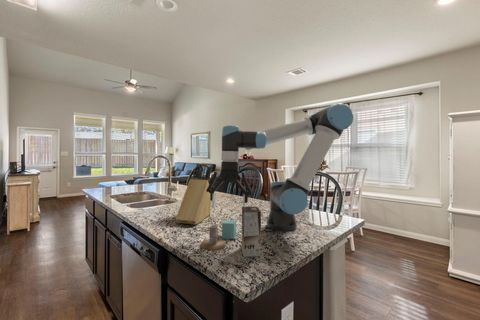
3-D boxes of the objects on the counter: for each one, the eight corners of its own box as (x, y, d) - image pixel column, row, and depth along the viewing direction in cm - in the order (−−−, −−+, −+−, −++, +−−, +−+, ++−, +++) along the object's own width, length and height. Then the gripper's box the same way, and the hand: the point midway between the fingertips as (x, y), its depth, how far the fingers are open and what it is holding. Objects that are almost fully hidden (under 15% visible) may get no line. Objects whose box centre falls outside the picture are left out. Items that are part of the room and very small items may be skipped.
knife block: (215, 210, 150) (215, 163, 150) (195, 226, 115) (196, 165, 115) (198, 210, 152) (199, 163, 152) (174, 225, 117) (175, 164, 117)
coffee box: (261, 256, 82) (261, 211, 82) (243, 257, 81) (243, 211, 81) (257, 246, 91) (257, 206, 91) (240, 246, 90) (241, 206, 90)
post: (228, 241, 96) (228, 223, 96) (222, 251, 86) (222, 231, 86) (205, 239, 98) (205, 222, 97) (197, 249, 88) (197, 229, 88)
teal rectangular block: (236, 235, 104) (236, 220, 104) (233, 239, 99) (233, 223, 99) (224, 234, 105) (224, 219, 105) (221, 238, 100) (222, 223, 100)
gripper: (258, 161, 103) (257, 208, 103) (205, 160, 107) (204, 205, 108) (257, 162, 96) (255, 212, 96) (200, 160, 100) (198, 209, 100)
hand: (228, 209), depth 102 cm, fingers open, 13 cm apart
